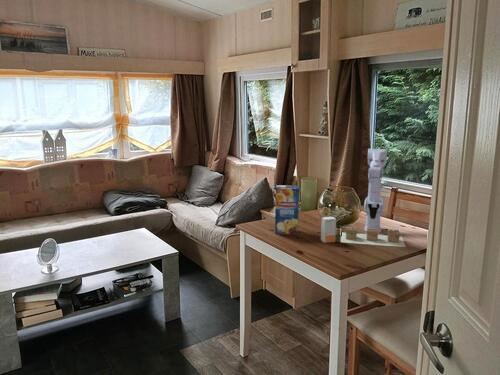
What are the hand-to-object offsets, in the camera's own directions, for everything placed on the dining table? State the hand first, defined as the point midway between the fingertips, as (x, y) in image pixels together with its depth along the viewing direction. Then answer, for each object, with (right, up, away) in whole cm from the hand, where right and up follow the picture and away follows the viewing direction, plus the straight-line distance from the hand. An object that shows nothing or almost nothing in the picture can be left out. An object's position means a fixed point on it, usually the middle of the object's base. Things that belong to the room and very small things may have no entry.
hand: (372, 218), depth 215 cm
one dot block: (+9, -11, -2) cm, 14 cm away
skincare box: (-23, -11, -2) cm, 25 cm away
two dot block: (-10, -10, +2) cm, 14 cm away
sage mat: (0, -11, 0) cm, 11 cm away
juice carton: (-41, -8, +13) cm, 44 cm away
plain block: (0, -10, 0) cm, 10 cm away
